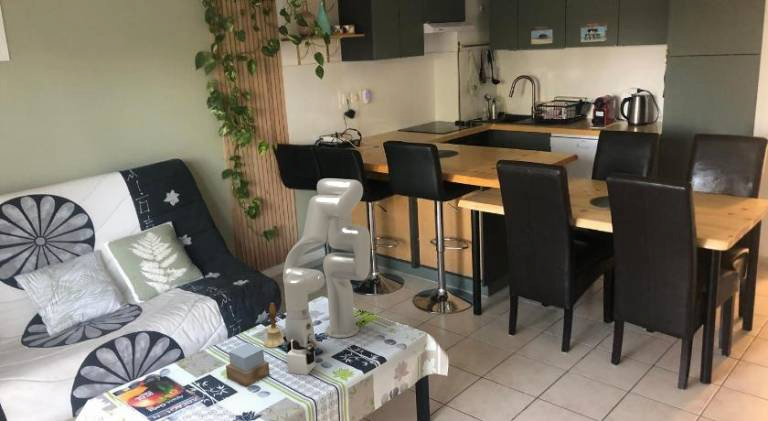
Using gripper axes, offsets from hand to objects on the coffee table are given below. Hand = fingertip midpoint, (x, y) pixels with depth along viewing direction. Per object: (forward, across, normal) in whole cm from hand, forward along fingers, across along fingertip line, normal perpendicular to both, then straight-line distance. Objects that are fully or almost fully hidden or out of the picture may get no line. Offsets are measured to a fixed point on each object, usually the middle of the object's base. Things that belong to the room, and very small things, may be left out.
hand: (301, 359), depth 224 cm
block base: (+4, +11, +14) cm, 19 cm away
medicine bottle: (+4, 0, 0) cm, 4 cm away
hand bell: (+4, +23, -8) cm, 25 cm away
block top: (-1, +11, +14) cm, 18 cm away
